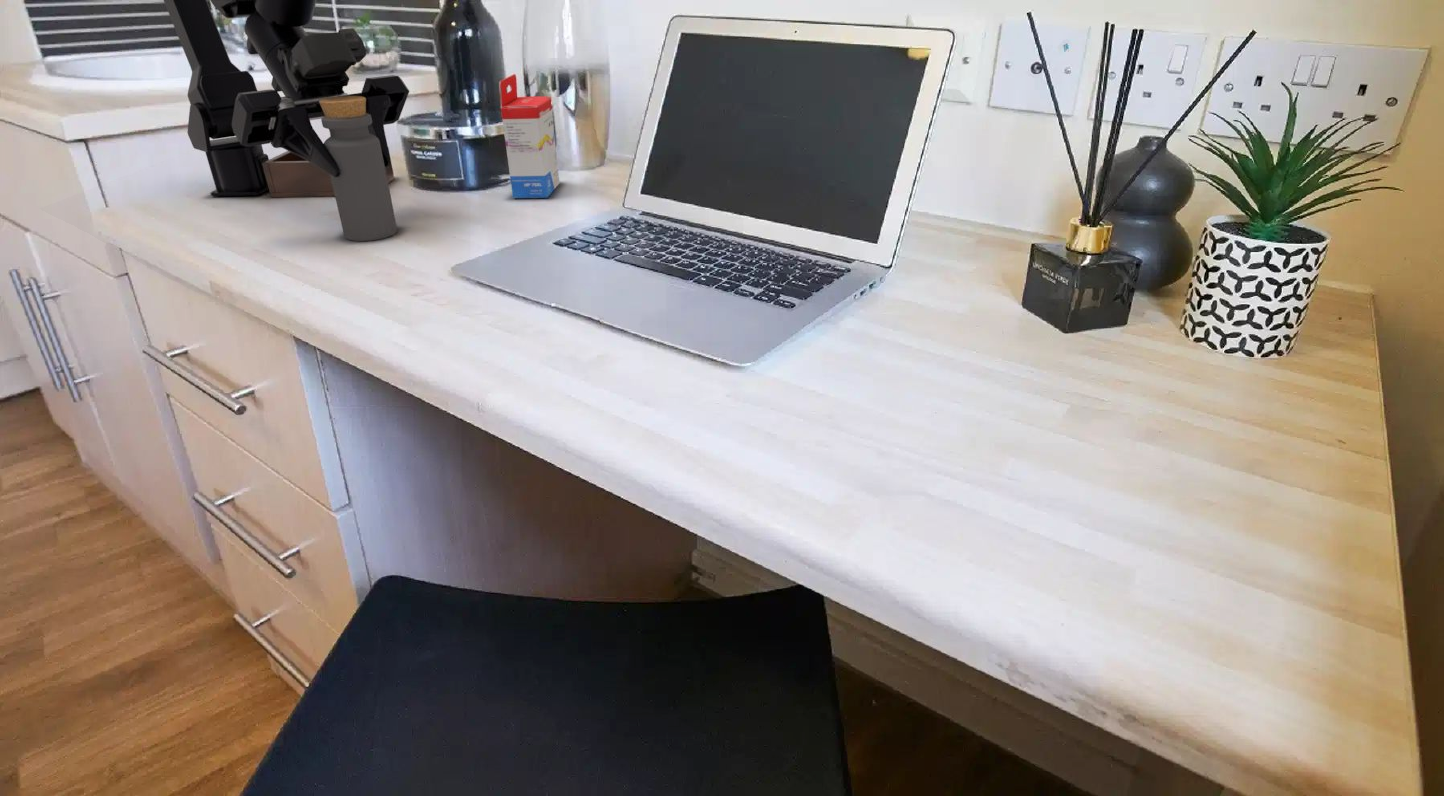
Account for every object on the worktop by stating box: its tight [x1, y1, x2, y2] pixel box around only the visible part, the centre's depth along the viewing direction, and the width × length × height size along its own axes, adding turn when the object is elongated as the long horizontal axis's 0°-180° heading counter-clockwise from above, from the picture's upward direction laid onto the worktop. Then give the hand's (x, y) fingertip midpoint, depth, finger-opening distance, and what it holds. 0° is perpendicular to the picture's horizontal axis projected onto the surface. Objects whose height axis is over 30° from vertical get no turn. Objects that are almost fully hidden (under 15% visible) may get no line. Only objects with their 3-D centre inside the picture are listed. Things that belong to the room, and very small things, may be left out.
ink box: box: [498, 73, 560, 199], centre depth 112 cm, size 8×5×15 cm, turn 179°
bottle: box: [319, 96, 398, 242], centre depth 94 cm, size 6×6×15 cm
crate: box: [262, 147, 395, 198], centre depth 117 cm, size 14×10×5 cm
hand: (363, 169), depth 94 cm, fingers closed on bottle, 6 cm apart
